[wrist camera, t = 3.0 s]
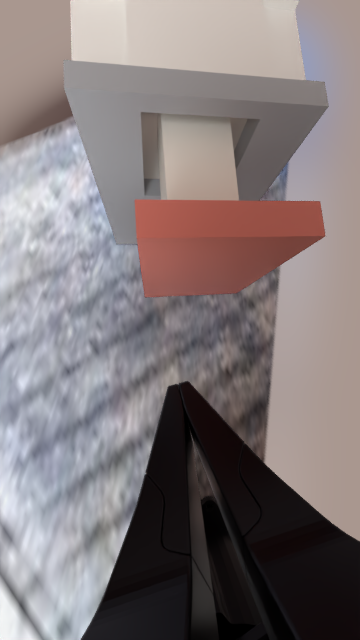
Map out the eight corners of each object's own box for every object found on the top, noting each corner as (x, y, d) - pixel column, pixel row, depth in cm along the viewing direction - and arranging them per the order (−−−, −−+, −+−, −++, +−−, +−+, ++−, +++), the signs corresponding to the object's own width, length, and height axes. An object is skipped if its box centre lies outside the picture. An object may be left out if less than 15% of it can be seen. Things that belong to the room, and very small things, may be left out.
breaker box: (228, 242, 19) (328, 106, 8) (117, 244, 18) (64, 87, 7) (221, 173, 20) (305, -37, 9) (113, 170, 18) (61, -75, 8)
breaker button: (236, 293, 13) (325, 236, 6) (144, 297, 12) (136, 238, 5) (222, 160, 13) (287, -11, 7) (136, 157, 13) (122, -34, 6)
